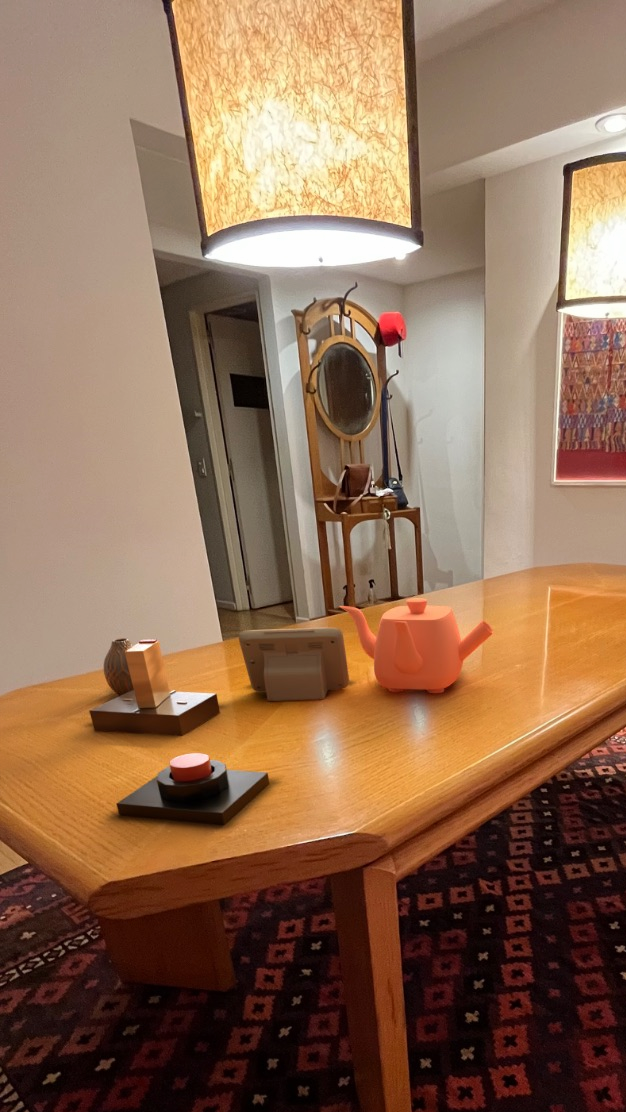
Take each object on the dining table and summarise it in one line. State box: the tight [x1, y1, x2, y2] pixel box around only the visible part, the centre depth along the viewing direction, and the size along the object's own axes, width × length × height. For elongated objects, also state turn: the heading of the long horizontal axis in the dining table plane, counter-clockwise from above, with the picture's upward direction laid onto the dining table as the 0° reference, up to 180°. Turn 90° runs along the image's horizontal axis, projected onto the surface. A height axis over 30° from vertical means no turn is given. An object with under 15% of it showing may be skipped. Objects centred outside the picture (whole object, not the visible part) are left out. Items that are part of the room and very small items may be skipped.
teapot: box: [339, 597, 495, 694], centre depth 109 cm, size 18×18×14 cm
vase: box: [103, 637, 134, 696], centre depth 109 cm, size 7×7×9 cm
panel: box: [88, 689, 221, 737], centre depth 98 cm, size 14×10×3 cm
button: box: [169, 752, 212, 781], centre depth 71 cm, size 4×4×2 cm
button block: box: [116, 759, 270, 826], centre depth 72 cm, size 12×10×4 cm
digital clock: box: [238, 627, 350, 702], centre depth 106 cm, size 16×9×11 cm, turn 81°
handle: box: [125, 638, 170, 708], centre depth 95 cm, size 6×2×8 cm, turn 2°
